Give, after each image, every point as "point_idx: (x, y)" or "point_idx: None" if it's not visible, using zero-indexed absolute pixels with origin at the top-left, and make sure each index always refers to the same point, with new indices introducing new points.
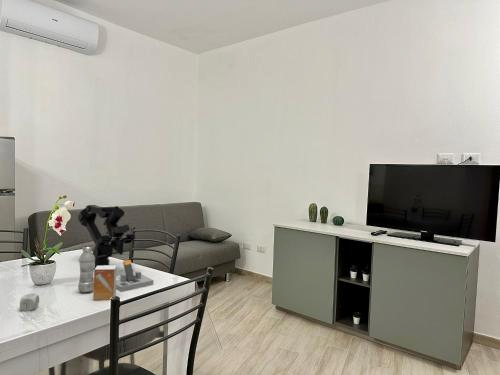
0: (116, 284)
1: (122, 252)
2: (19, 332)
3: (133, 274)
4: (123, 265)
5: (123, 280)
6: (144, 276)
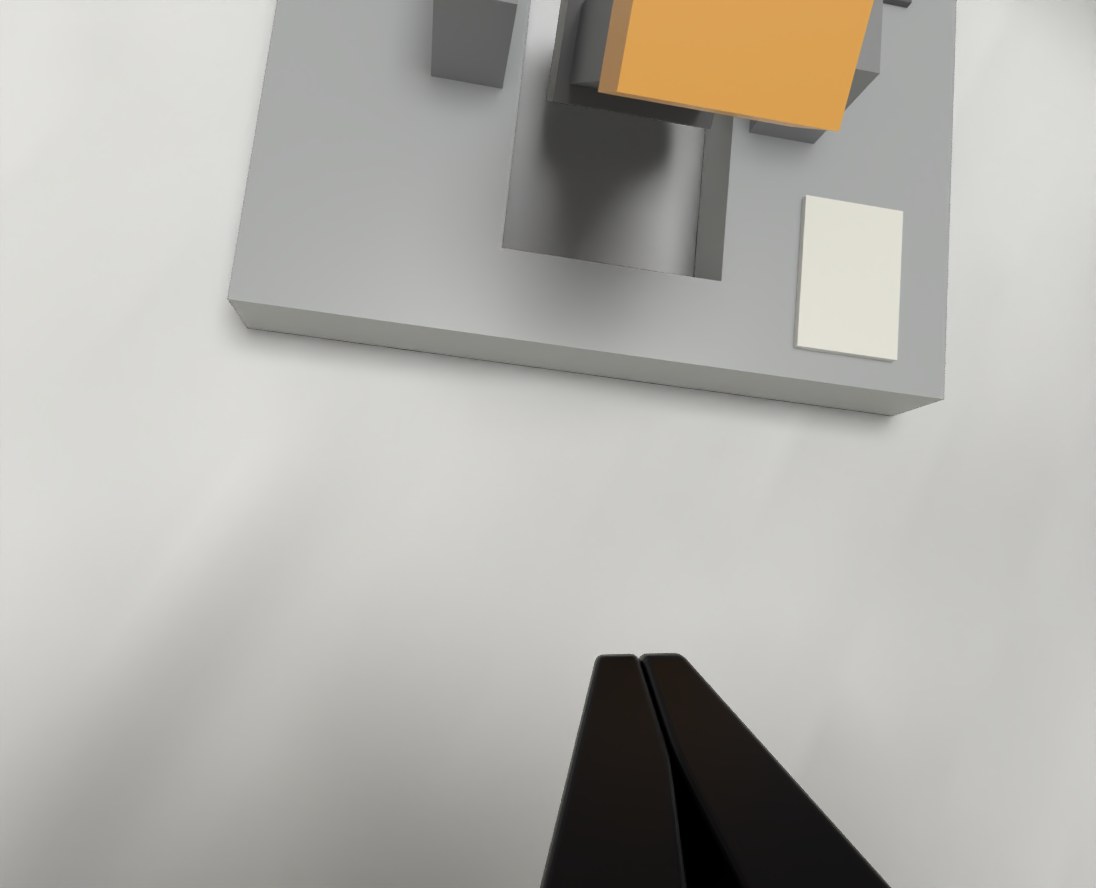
0: (953, 29)
1: (615, 678)
2: None
3: (586, 1)
4: (798, 127)
5: None
6: (294, 33)
